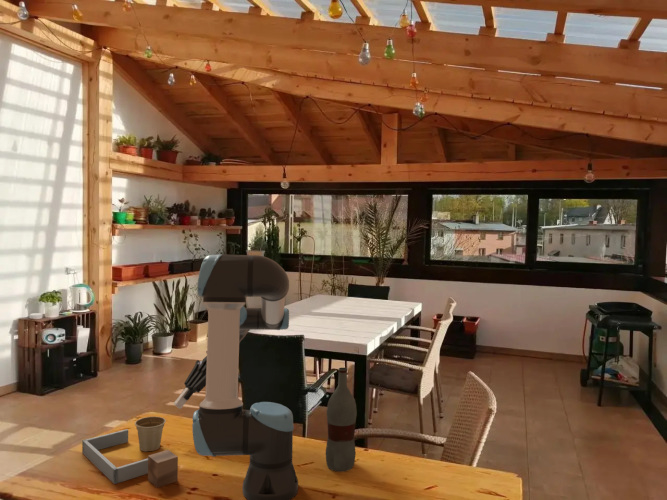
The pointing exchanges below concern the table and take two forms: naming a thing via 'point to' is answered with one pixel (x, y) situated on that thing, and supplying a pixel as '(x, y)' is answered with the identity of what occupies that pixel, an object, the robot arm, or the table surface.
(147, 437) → the flower pot
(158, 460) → the walnut block
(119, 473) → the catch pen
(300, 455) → the table surface
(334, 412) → the bottle
